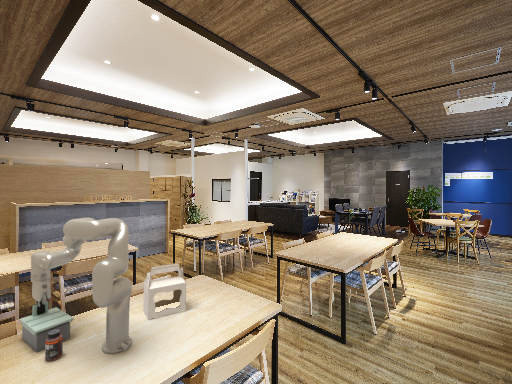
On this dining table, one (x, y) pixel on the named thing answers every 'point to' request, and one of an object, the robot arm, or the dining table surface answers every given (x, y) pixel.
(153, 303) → the gable box
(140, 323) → the dining table surface
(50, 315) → the lid
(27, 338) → the tub
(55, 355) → the supplement bottle
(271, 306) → the dining table surface
